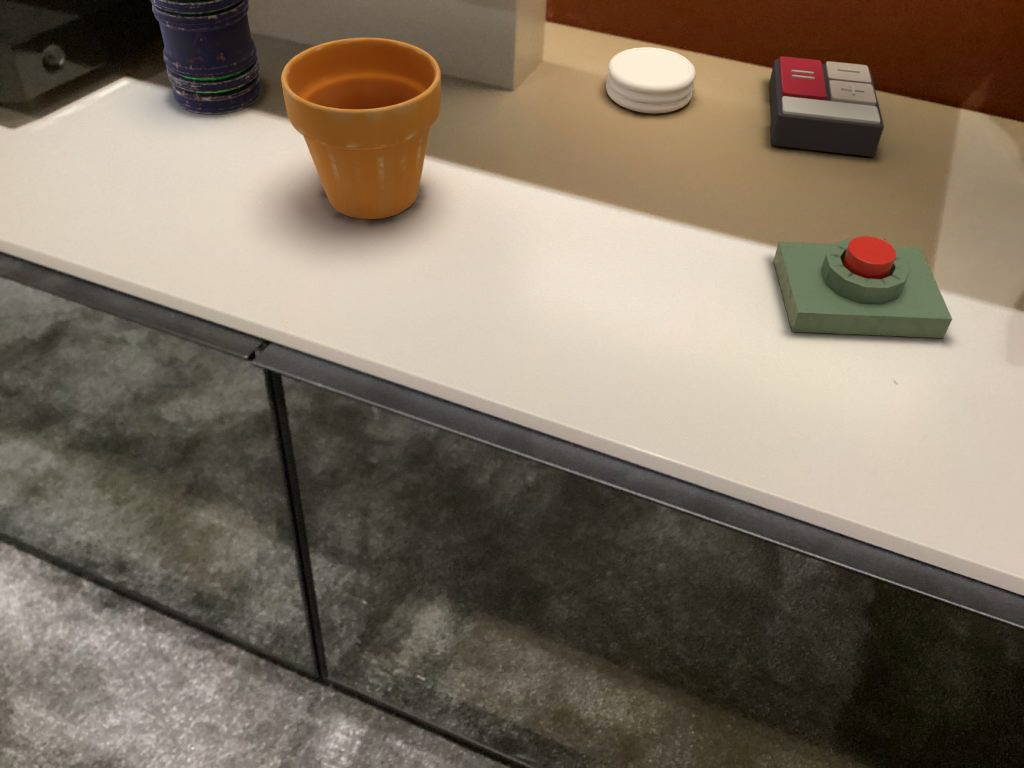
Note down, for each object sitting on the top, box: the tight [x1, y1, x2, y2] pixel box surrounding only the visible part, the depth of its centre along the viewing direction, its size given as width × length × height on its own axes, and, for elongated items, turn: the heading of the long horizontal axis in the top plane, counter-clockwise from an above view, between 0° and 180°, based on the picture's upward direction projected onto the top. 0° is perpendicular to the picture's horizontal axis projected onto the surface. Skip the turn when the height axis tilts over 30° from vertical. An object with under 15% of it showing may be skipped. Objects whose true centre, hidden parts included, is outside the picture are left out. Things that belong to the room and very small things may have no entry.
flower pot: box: [280, 37, 442, 220], centre depth 91 cm, size 14×14×13 cm
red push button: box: [843, 235, 896, 279], centre depth 83 cm, size 4×4×2 cm
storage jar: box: [150, 0, 263, 115], centre depth 104 cm, size 10×10×15 cm
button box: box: [773, 238, 953, 339], centre depth 85 cm, size 13×10×4 cm
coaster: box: [605, 46, 697, 115], centre depth 110 cm, size 10×10×4 cm
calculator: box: [769, 55, 885, 158], centre depth 107 cm, size 11×4×15 cm
